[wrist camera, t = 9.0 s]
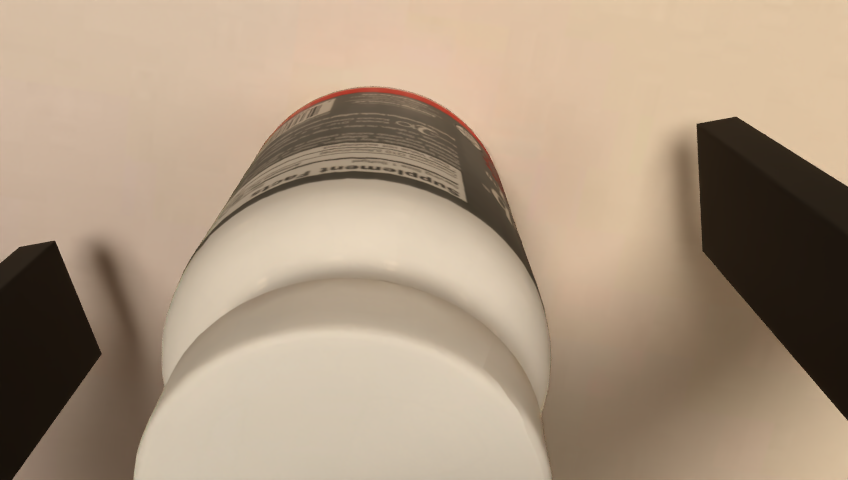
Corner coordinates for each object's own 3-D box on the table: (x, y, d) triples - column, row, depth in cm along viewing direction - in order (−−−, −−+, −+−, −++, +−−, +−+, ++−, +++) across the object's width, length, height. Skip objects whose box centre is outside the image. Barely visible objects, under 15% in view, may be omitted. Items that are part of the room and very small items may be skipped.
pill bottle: (491, 315, 19) (569, 698, 10) (258, 311, 19) (113, 697, 9) (509, 82, 16) (634, 294, 7) (245, 74, 16) (36, 281, 7)
